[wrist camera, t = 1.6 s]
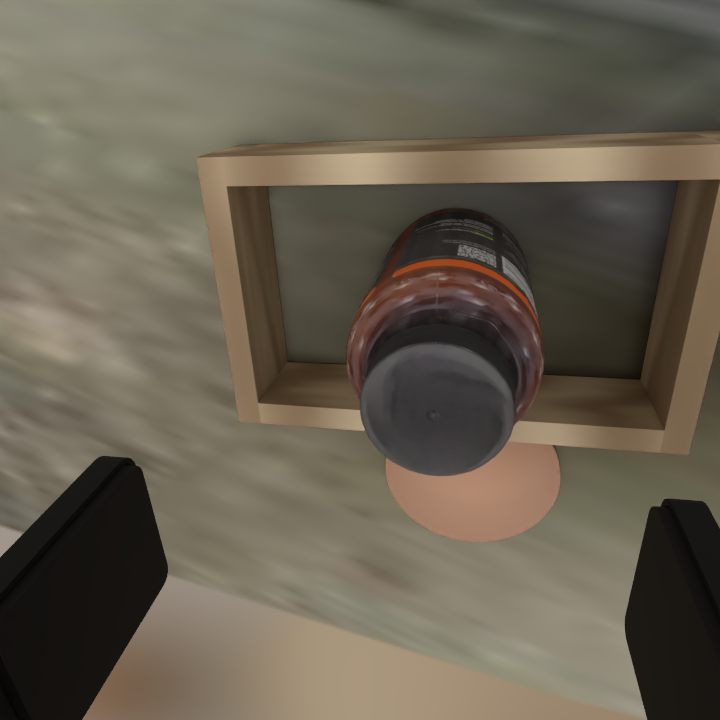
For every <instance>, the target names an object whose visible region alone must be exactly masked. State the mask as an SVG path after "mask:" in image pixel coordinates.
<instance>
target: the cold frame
mask: <svg viewBox="0 0 720 720" xmlns="http://www.w3.org/2000/svg"><path fill="white" fill-rule="evenodd" d="M196 162H197V168H198V174H199V180H200V186H201V192H202V198H203V204H204V210H205V216H206V222H207V228H208V234H209V240H210V246H211V253H212V259H213V265H214V271H215V277H216V283H217V289H218V295H219V301H220V307H221V313H222V319H223V325H224V331H225V337H226V343H227V349H228V355H229V362H230V368H231V374H232V380H233V386H234V392H235V398H236V404H237V410H238V416H239V422H252V423H265V424H278V425H292V426H305V427H319V428H332V429H346V430H359V431H365V428H364V426H363V424H362V420H361V415H360V402H359V400H358V398H357V396H356V395H355V393H354V390H353V387H352V385H351V382H350V379H349V375H348V370H347V365H341V364H321V363H302V362H287V354H286V346H285V337H284V328H283V320H282V311H281V302H280V294H279V285H278V276H277V268H276V259H275V250H274V242H273V233H272V224H271V216H270V207H269V198H268V190H267V186H288V185H358V184H428V183H498V182H568V181H638V180H679V181H678V186H677V191H676V196H675V201H674V207H673V212H672V217H671V222H670V228H669V233H668V238H667V243H666V248H665V254H664V259H663V264H662V269H661V274H660V280H659V285H658V290H657V295H656V301H655V306H654V311H653V316H652V321H651V327H650V332H649V337H648V342H647V348H646V353H645V358H644V363H643V368H642V374H641V379H640V380H636V379H616V378H596V377H577V376H557V375H543V377H542V380H541V385H540V388H539V390H538V393H537V395H536V398H535V400H534V402H533V403H532V404H531V407H530V409H529V410H528V411H527V412H526V413H525V414H524V416H523V417H522V418H521V419H520V420H519V421H518V422H517V423H516V424H515V426H513V430H512V433H511V436H510V438H509V440H508V441H507V442H521V443H534V444H547V445H561V446H574V447H588V448H601V449H615V450H628V451H642V452H655V453H669V454H682V455H689V452H690V448H691V444H692V440H693V436H694V432H695V428H696V424H697V420H698V416H699V412H700V408H701V404H702V400H703V396H704V392H705V388H706V384H707V380H708V376H709V372H710V368H711V364H712V360H713V356H714V352H715V348H716V344H717V340H718V336H719V332H720V131H686V132H653V133H619V134H586V135H552V136H519V137H485V138H452V139H418V140H385V141H351V142H318V143H284V144H251V145H237V146H234V147H230V148H227V149H224V150H220V151H217V152H213V153H210V154H207V155H203V156H200V157H196Z"/></svg>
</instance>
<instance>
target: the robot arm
mask: <svg viewBox="0 0 720 720" xmlns="http://www.w3.org/2000/svg"><path fill="white" fill-rule="evenodd" d="M167 573H168V565H167V561H166V557H165V553H164V550H163V546H162V542H161V539H160V535H159V531H158V527H157V524H156V520H155V516H154V513H153V509H152V505H151V501H150V498H149V494H148V490H147V486H146V483H145V479H144V475H143V472H142V470H141V468H140V467H138V466H136V465H135V463H134V461H133V460H132V459H130V458H124V457H110V456H101V457H99V458H97V459H96V460H95V461H94V462H93V463H92V464H91V465H90V466H89V467H88V468H87V469H86V470H85V471H84V472H83V473H82V474H81V475H80V476H79V477H78V478H77V479H76V480H75V481H74V482H73V483H72V484H71V485H70V486H69V487H68V489H67V490H66V491H65V492H64V493H63V494H62V495H61V496H60V497H59V498H58V499H57V500H56V501H55V502H54V503H53V504H52V505H51V506H50V507H49V508H48V509H47V510H46V511H45V512H44V513H43V514H42V515H41V516H40V517H39V518H38V519H37V520H36V521H35V522H34V523H33V524H32V525H31V526H30V527H29V529H28V530H27V531H26V532H25V533H24V534H23V535H22V536H21V537H20V538H19V539H18V540H17V541H16V542H15V543H14V544H13V545H12V546H11V547H10V548H9V549H8V550H7V551H6V552H5V553H4V554H3V555H2V556H1V557H0V720H82V719H83V717H84V716H85V714H86V712H87V711H88V709H89V708H90V706H91V704H92V703H93V701H94V699H95V698H96V696H97V694H98V693H99V691H100V689H101V688H102V686H103V684H104V683H105V681H106V679H107V677H108V676H109V675H110V672H111V671H112V670H113V668H114V666H115V665H116V663H117V661H118V660H119V658H120V656H121V655H122V653H123V651H124V650H125V648H126V646H127V645H128V643H129V642H130V640H131V638H132V637H133V635H134V633H135V632H136V630H137V628H138V627H139V625H140V623H141V622H142V620H143V618H144V617H145V615H146V613H147V612H148V610H149V609H150V607H151V605H152V604H153V602H154V600H155V599H156V597H157V595H158V594H159V592H160V590H161V589H162V587H163V585H164V583H165V581H166V578H167ZM625 634H626V639H627V643H628V647H629V651H630V655H631V659H632V663H633V666H634V670H635V674H636V678H637V682H638V686H639V689H640V693H641V697H642V701H643V705H644V709H645V712H646V716H647V720H720V529H719V527H718V525H717V523H716V521H715V519H714V517H713V515H712V513H711V511H710V510H709V508H708V506H707V505H706V503H704V502H702V501H692V500H679V499H664V501H663V502H662V504H661V507H655V506H653V507H651V509H650V511H649V515H648V519H647V523H646V528H645V532H644V537H643V541H642V545H641V550H640V554H639V559H638V563H637V567H636V572H635V576H634V581H633V585H632V589H631V594H630V598H629V602H628V607H627V611H626V616H625Z"/></svg>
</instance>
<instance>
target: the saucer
mask: <svg viewBox="0 0 720 720" xmlns="http://www.w3.org/2000/svg"><path fill="white" fill-rule="evenodd" d="M560 477H561V474H560V466H559V460H558V456H557V452H556V449H555V447H554V445H547V444H534V443H521V442H507V443H506V445H505V446H504V447H503V449H502V450H501V451H500V452H499V453H498V454H497V455H496V456H495V457H494V458H492V459H491V460H490V461H489V462H487V463H486V464H484V465H483V466H481V467H479V468H477V469H475V470H473V471H471V472H467V473H463V474H458V475H452V476H430V475H425V474H420V473H417V472H413V471H409V470H407V469H405V468H403V467H401V466H399V465H397V464H395V463H393V462H392V461H390V460H389V459H388V458H386V478H387V482H388V485H389V488H390V490H391V493H392V495H393V497H394V498H395V500H396V502H397V503H398V504H399V506H400V507H401V508H402V509H403V511H404V512H405V513H406V514H407V515H408V516H409V517H411V518H412V519H413V520H414V521H416V522H417V523H418V524H420V525H421V526H423V527H425V528H426V529H428V530H430V531H432V532H434V533H436V534H439V535H442V536H445V537H448V538H452V539H455V540H461V541H468V542H490V541H498V540H502V539H506V538H510V537H513V536H515V535H518V534H520V533H522V532H524V531H526V530H528V529H530V528H531V527H533V526H534V525H536V524H537V523H538V522H539V521H540V520H541V519H543V518H544V516H545V515H546V514H547V513H548V512H549V511H550V509H551V507H552V506H553V504H554V502H555V500H556V498H557V495H558V492H559V487H560Z"/></svg>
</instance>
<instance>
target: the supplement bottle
mask: <svg viewBox="0 0 720 720" xmlns="http://www.w3.org/2000/svg"><path fill="white" fill-rule="evenodd" d="M346 358H347V370H348V375H349V379H350V382H351V385H352V387H353V390H354V393H355V395H356V396H357V398H358V400H359V402H360V415H361V420H362V424H363V426H364V428H365V431H366V433H367V435H368V437H369V438H370V440H371V441H372V442H373V444H374V445H375V447H376V448H377V449H378V450H379V451H380V452H381V453H382V454H383V455H384V456H385V457H386V458H388V459H389V460H390V461H392V462H393V463H395V464H397V465H399V466H401V467H403V468H405V469H407V470H409V471H413V472H417V473H420V474H425V475H430V476H452V475H458V474H463V473H467V472H471V471H473V470H475V469H477V468H479V467H481V466H483V465H484V464H486V463H487V462H489V461H490V460H491V459H492V458H494V457H495V456H496V455H497V454H498V453H499V452H500V451H501V450H502V449H503V447H504V446H505V445H506V443H507V441H508V440H509V438H510V436H511V433H512V430H513V426H515V424H516V423H517V422H518V421H519V420H520V419H521V418H522V417H523V416H524V414H525V413H526V412H527V411H528V410H529V409H530V407H531V404H532V403H533V402H534V400H535V398H536V395H537V393H538V390H539V388H540V385H541V380H542V377H543V371H544V363H545V360H544V346H543V340H542V336H541V330H540V325H539V321H538V316H537V312H536V307H535V302H534V297H533V292H532V288H531V283H530V278H529V272H528V267H527V265H526V261H525V258H524V256H523V252H522V250H521V248H520V246H519V244H518V243H517V241H516V239H515V238H514V237H513V236H512V235H511V233H510V232H509V231H508V230H507V229H506V228H505V227H504V226H503V225H502V224H500V223H499V222H497V221H495V220H494V219H492V218H491V217H488V216H486V215H484V214H481V213H478V212H474V211H470V210H461V209H452V210H442V211H438V212H435V213H432V214H429V215H427V216H425V217H423V218H421V219H419V220H418V221H416V222H414V223H413V224H412V225H410V226H409V227H408V228H407V229H406V230H405V231H404V232H403V233H402V234H401V235H400V236H399V237H398V238H397V240H396V241H395V242H394V244H393V245H392V247H391V249H390V251H389V252H388V254H387V256H386V258H385V260H384V262H383V264H382V266H381V268H380V270H379V272H378V273H377V275H376V277H375V279H374V281H373V283H372V285H371V287H370V289H369V291H368V293H367V294H366V296H365V298H364V300H363V302H362V304H361V305H360V307H359V310H358V312H357V314H356V316H355V318H354V321H353V323H352V326H351V330H350V333H349V338H348V342H347V354H346Z"/></svg>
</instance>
